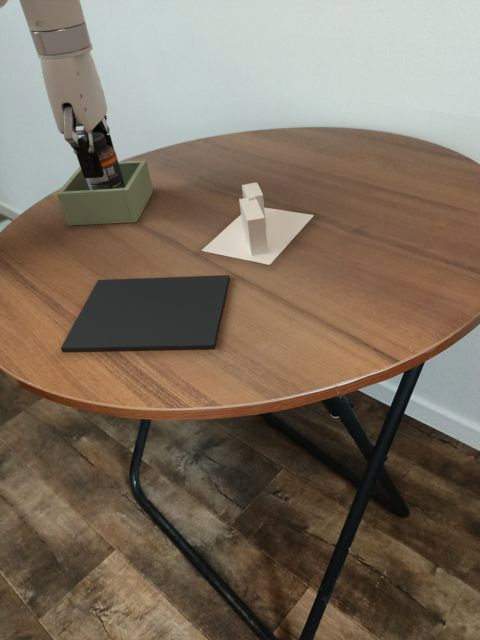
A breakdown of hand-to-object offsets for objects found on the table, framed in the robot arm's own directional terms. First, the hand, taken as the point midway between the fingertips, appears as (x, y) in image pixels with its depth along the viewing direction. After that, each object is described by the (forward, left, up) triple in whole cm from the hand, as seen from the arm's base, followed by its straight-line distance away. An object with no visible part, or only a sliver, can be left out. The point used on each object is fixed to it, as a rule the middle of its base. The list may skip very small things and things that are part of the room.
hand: (100, 167), depth 84 cm
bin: (0, 0, -7) cm, 7 cm away
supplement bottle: (0, 0, -7) cm, 7 cm away
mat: (+14, -30, -7) cm, 34 cm away
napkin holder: (+26, -11, -7) cm, 29 cm away
